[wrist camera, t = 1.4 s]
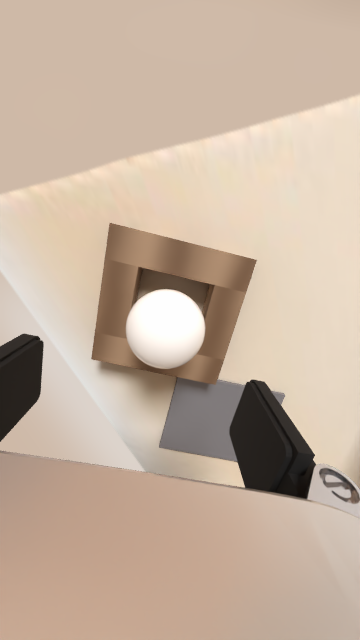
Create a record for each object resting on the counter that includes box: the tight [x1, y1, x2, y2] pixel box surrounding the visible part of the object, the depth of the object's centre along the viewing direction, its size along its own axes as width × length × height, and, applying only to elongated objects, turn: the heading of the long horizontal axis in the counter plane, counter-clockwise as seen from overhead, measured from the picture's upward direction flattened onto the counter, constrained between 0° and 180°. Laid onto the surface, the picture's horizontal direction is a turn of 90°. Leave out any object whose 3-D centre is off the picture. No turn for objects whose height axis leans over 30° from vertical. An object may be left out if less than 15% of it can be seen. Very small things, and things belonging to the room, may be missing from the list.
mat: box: [159, 377, 285, 462], centre depth 30 cm, size 14×12×1 cm
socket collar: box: [91, 223, 257, 385], centre depth 24 cm, size 14×14×3 cm
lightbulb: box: [126, 289, 205, 369], centre depth 20 cm, size 6×6×11 cm
